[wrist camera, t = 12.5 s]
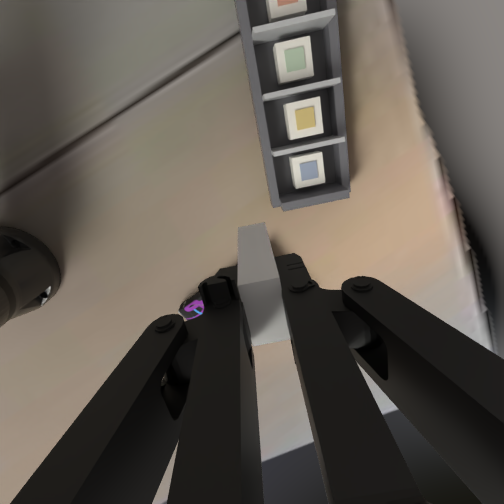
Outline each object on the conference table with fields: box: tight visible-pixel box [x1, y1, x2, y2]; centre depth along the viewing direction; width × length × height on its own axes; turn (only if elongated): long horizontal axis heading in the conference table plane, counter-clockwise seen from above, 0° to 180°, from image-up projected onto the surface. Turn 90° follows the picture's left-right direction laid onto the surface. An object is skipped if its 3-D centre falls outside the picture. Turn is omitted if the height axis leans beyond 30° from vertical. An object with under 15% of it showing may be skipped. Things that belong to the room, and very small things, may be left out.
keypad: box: [234, 0, 351, 211], centre depth 40 cm, size 12×30×6 cm, turn 11°
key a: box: [273, 36, 314, 85], centre depth 39 cm, size 4×4×3 cm
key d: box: [283, 96, 324, 140], centre depth 40 cm, size 4×4×3 cm
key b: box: [289, 151, 325, 189], centre depth 45 cm, size 4×4×3 cm
